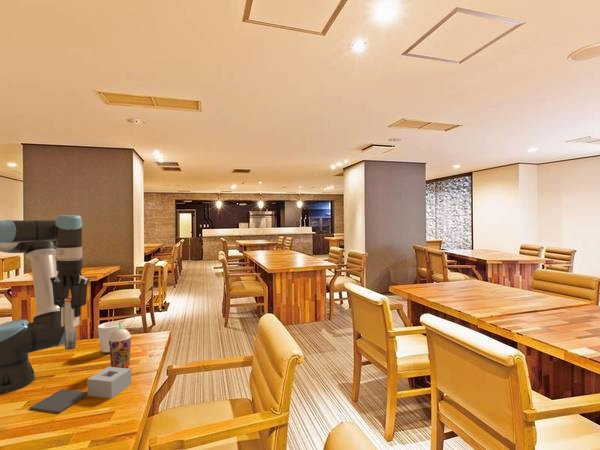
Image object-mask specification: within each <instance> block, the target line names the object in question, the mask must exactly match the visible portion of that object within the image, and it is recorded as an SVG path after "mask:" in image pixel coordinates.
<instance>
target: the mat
mask: <svg viewBox="0 0 600 450" xmlns="http://www.w3.org/2000/svg"><path fill="white" fill-rule="evenodd" d="M87 396H88V394H87V391H81V390H71V389H65V388H62V389H59V390H58V391H56V392H54V393H53V394H51V395H49V396H47V397H45V398H44V399H42V400H40V401H38V402H36V403H35V404H33V405H31V406H29V410H33V411H41V412H46V413H47V412H48V413H55V414H61V413H62V412H64V411H66V410H67V409H68V408H71V406H73V405H75V404H77V403H78V402H80V401H81V400H83V399H84V398H86V397H87Z"/></svg>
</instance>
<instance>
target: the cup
mask: <svg viewBox="0 0 600 450" xmlns="http://www.w3.org/2000/svg"><path fill="white" fill-rule="evenodd" d="M119 322H120V321H115V320H114V321H108V322H103V323H101V324H99V325H98V326H97V332H98V340H99V346H100V352H101V353H102V354H103V355H104V354H107V353H108V354H110V347H109V338H110V336H111V334H112V333H113V332H114V331H115V330H117V329H119ZM122 324H123V323H122V322H121V325H122Z"/></svg>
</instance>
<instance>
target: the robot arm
mask: <svg viewBox="0 0 600 450" xmlns="http://www.w3.org/2000/svg"><path fill="white" fill-rule="evenodd" d="M0 252H1V253H5V254H6V253H7V254H25V258H26V259H29V260H30V262H31V263H30V264H31V273H32V282H33V290H34V298H35V307H36V314H35V315H34V316H33V317H32V321H31V322H29V321H28V320H27V319H25V318H24V319H16V320H11V321H7V322H4V323H0V395H1V394H5V393H9V392H14V391H16V390H19V389H21V388H24V387H26V386H28V385H30V384H31V383H32V382H34V380H35V379H36V378H35V376H36V375H35V373H36V372H35V371H34V369H33V367H32V364H31V362H30V361H29V354H31V353H34V352H40V351H44V350H48V349H51V348H55V347H56V348H57V347H58V348H59V346H63V345H65V321H64V298H65V297H69V293H70V297H72V303H73V307H71V327H75V326H76V327H77V326H79V325H80V316H81V313H82V312H81V308H82V307H83V306H86V305H87V298H88V297H87V295H88V284H89V282H90V278H89V277H84V276H83V274H82V270H83V259H82V258H83V219H82V216H81V215H78V214H77V215H76V214H58V215H56V217H55V219H42V220H41V219H35V220H32V219H31V220H29V219H26V220H25V219H23V220H15V219H14V220H13V219H5V220H0ZM56 259H57V260H56Z"/></svg>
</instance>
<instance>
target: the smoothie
mask: <svg viewBox="0 0 600 450" xmlns="http://www.w3.org/2000/svg"><path fill="white" fill-rule="evenodd" d="M118 322H119V329H117V330H115V331H114V332H113V333H112V334H111V336H110V338H109V347H110V353H109V355H110V357H109V358H110V367H117V368H127V369H129V367H130V363H131V347H132V346H131V345H132V334H131V333H130V331H129V330H128V329H126V328H124V327H123V328H122V324H121V323H122V322H121V321H118Z"/></svg>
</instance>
